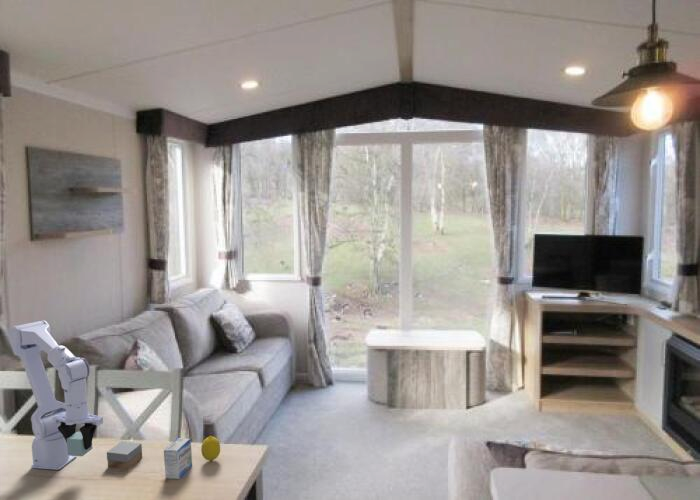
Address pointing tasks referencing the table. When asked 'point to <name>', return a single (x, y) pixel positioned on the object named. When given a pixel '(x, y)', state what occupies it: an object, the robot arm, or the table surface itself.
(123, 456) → the gray block
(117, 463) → the walnut block
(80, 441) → the teal block
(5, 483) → the table surface
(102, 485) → the table surface
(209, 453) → the lemon
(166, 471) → the medicine box
